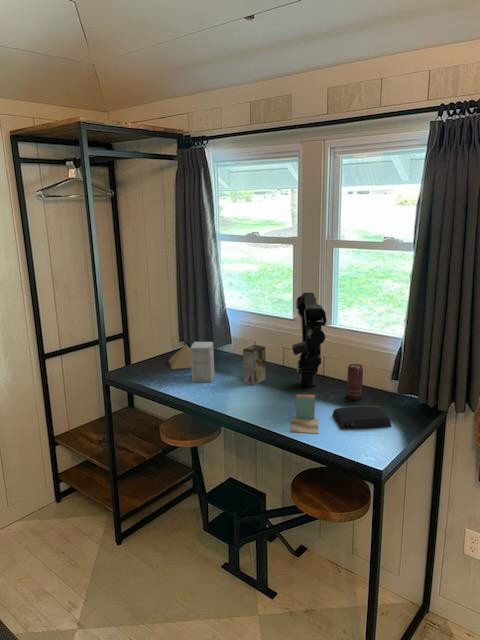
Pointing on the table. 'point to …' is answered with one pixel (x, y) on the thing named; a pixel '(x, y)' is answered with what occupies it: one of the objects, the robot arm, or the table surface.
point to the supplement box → (202, 361)
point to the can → (354, 381)
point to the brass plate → (304, 425)
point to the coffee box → (254, 364)
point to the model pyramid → (181, 358)
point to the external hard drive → (361, 417)
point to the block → (305, 406)
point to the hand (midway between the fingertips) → (312, 373)
